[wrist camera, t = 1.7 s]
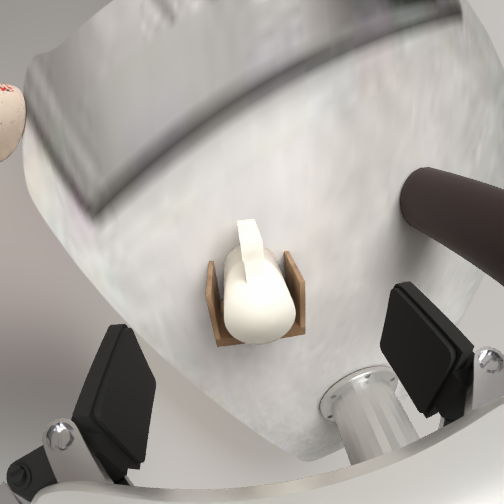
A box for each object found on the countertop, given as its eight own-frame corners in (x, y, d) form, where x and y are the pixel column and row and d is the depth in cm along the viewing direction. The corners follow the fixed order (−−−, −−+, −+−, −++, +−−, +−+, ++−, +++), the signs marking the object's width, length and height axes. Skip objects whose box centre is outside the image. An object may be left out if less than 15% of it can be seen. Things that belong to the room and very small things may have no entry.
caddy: (290, 297, 28) (305, 334, 23) (217, 307, 28) (217, 346, 22) (288, 251, 26) (304, 281, 21) (209, 261, 26) (205, 295, 20)
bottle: (432, 234, 27) (565, 330, 9) (390, 219, 26) (547, 332, 8) (450, 179, 25) (598, 244, 6) (409, 156, 24) (590, 216, 5)
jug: (278, 287, 28) (296, 338, 20) (227, 293, 27) (229, 348, 20) (272, 209, 25) (292, 241, 17) (215, 216, 24) (211, 252, 17)
